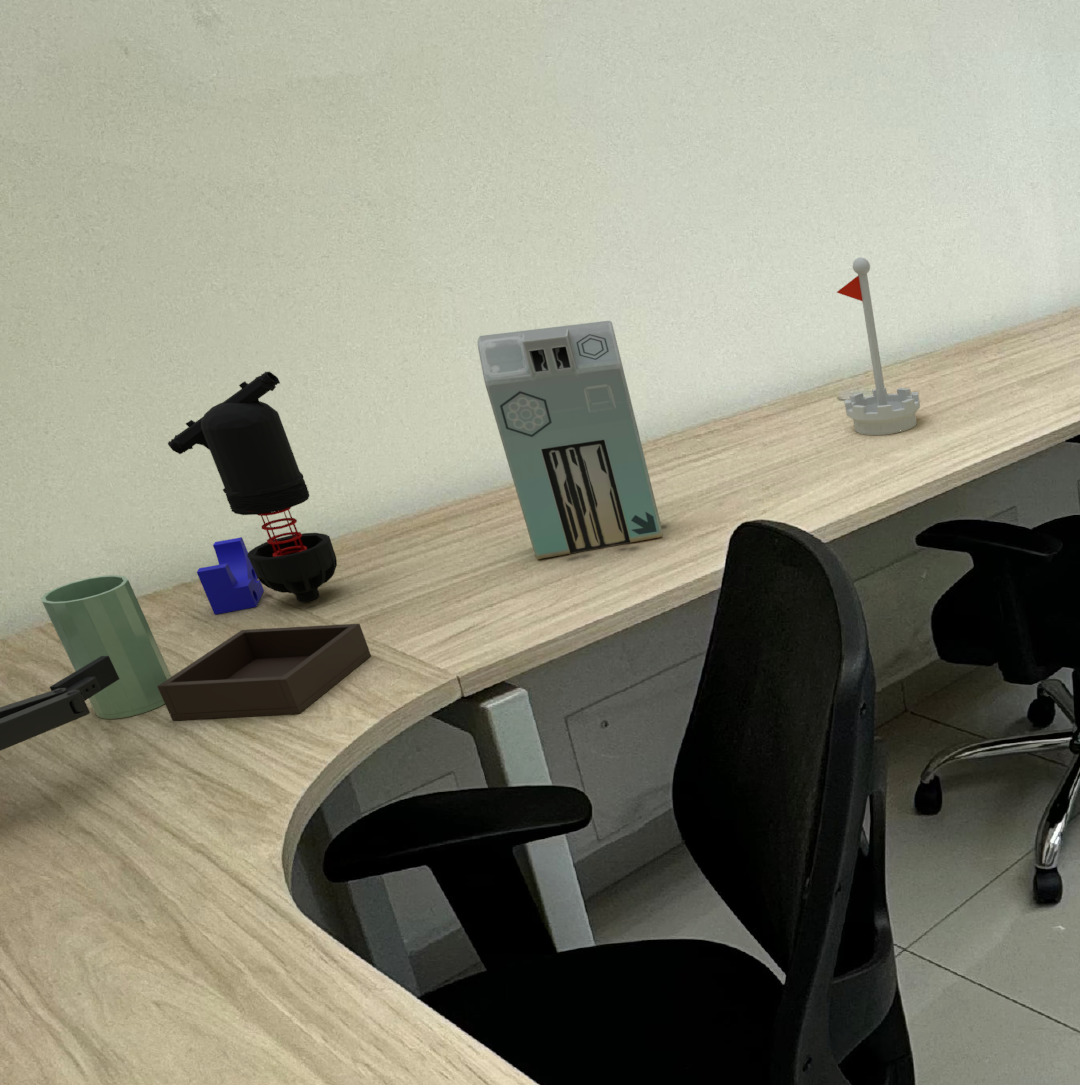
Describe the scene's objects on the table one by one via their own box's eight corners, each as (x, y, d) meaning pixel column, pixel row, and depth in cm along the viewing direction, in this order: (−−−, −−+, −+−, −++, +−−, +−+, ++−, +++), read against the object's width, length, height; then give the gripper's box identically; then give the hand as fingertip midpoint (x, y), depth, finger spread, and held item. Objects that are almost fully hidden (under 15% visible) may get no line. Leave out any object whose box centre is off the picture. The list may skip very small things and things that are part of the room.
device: (536, 561, 171) (474, 347, 159) (538, 543, 178) (478, 336, 165) (663, 538, 178) (612, 330, 165) (660, 521, 184) (611, 320, 171)
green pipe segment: (79, 720, 135) (22, 604, 129) (129, 688, 141) (77, 576, 135) (146, 717, 135) (92, 601, 129) (193, 685, 141) (144, 573, 135)
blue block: (256, 606, 161) (239, 564, 158) (214, 614, 159) (196, 572, 157) (271, 575, 171) (255, 535, 168) (231, 582, 169) (215, 541, 166)
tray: (172, 721, 134) (156, 686, 132) (254, 662, 146) (241, 629, 144) (299, 714, 134) (285, 679, 132) (371, 655, 146) (359, 623, 145)
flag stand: (901, 411, 233) (877, 248, 220) (935, 425, 224) (912, 256, 211) (836, 426, 226) (808, 258, 213) (869, 441, 216) (841, 267, 204)
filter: (366, 578, 168) (288, 361, 156) (346, 605, 160) (262, 378, 148) (250, 595, 165) (161, 374, 152) (225, 623, 157) (128, 392, 144)
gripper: (-280, 830, 109) (-64, 709, 128) (8, 814, 109) (180, 696, 128) (-328, 757, 106) (-99, 645, 125) (-31, 741, 106) (152, 631, 125)
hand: (43, 671), depth 127 cm, fingers open, 13 cm apart
